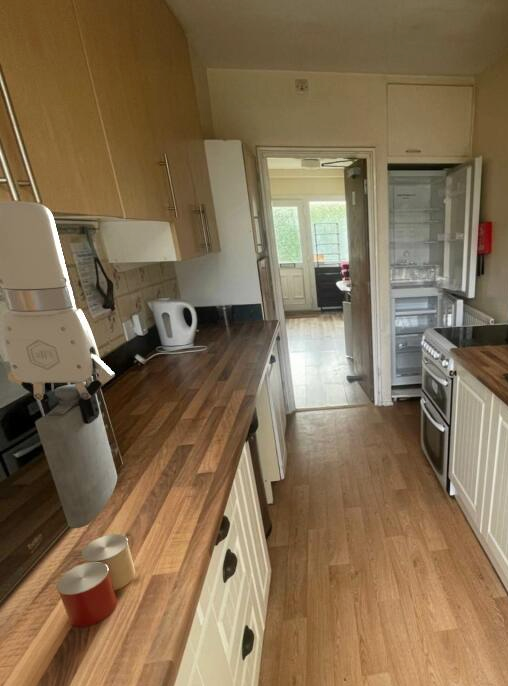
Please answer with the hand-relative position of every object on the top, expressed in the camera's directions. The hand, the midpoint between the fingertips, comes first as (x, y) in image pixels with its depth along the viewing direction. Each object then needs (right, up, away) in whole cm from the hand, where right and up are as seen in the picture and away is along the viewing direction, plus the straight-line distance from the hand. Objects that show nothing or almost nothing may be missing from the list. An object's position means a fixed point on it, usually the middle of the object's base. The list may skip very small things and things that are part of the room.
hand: (74, 419), depth 66 cm
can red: (+1, -31, +4) cm, 31 cm away
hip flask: (0, -14, +6) cm, 15 cm away
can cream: (0, -28, +10) cm, 30 cm away
